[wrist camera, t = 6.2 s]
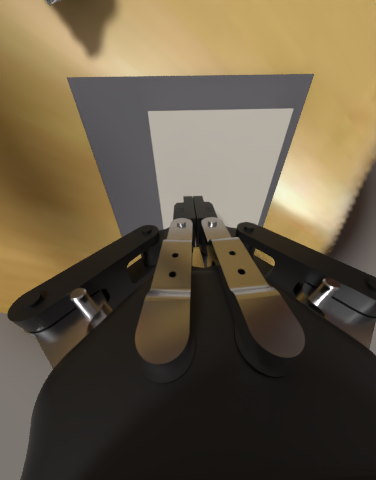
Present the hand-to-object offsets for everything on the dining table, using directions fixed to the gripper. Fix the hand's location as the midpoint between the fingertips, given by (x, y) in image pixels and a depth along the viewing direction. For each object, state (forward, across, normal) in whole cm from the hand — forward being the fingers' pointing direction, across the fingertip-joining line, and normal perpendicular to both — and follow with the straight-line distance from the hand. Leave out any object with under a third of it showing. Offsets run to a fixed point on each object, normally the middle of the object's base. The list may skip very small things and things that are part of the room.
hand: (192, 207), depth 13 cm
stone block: (+3, +3, 0) cm, 4 cm away
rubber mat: (+5, 0, 0) cm, 5 cm away
